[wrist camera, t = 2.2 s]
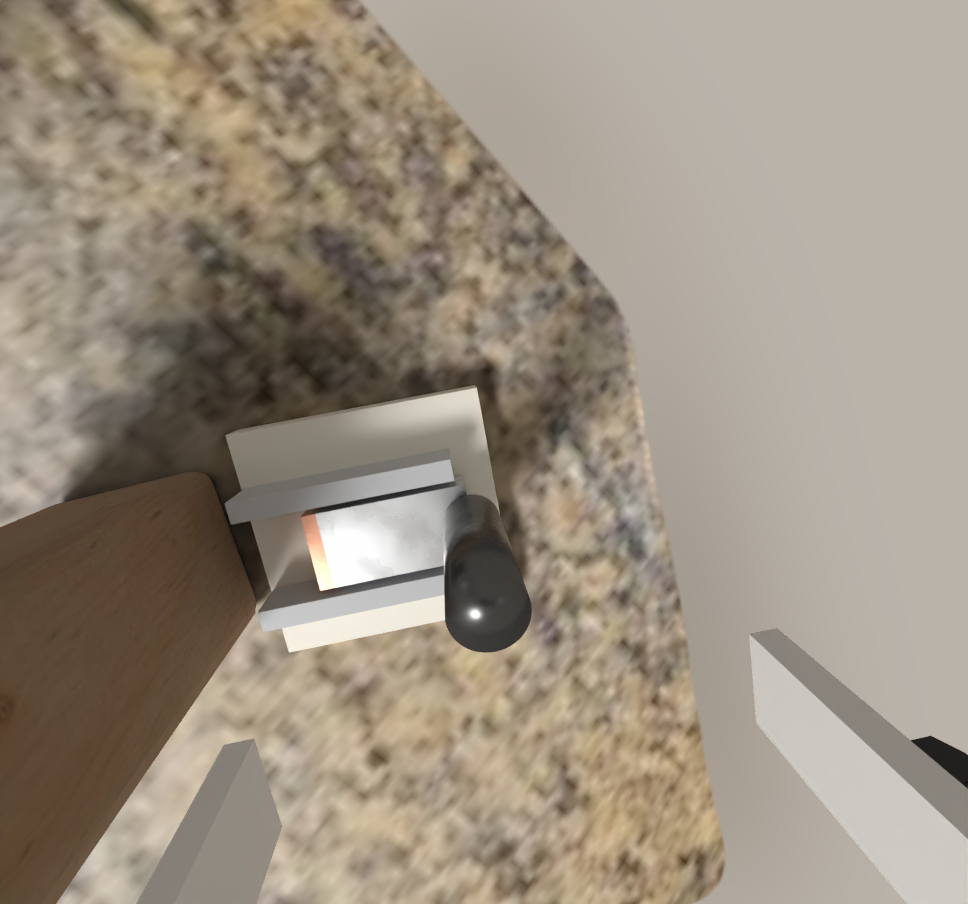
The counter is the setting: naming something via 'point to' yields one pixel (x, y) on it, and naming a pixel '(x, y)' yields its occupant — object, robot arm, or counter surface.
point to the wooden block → (103, 660)
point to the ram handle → (428, 555)
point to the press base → (347, 477)
